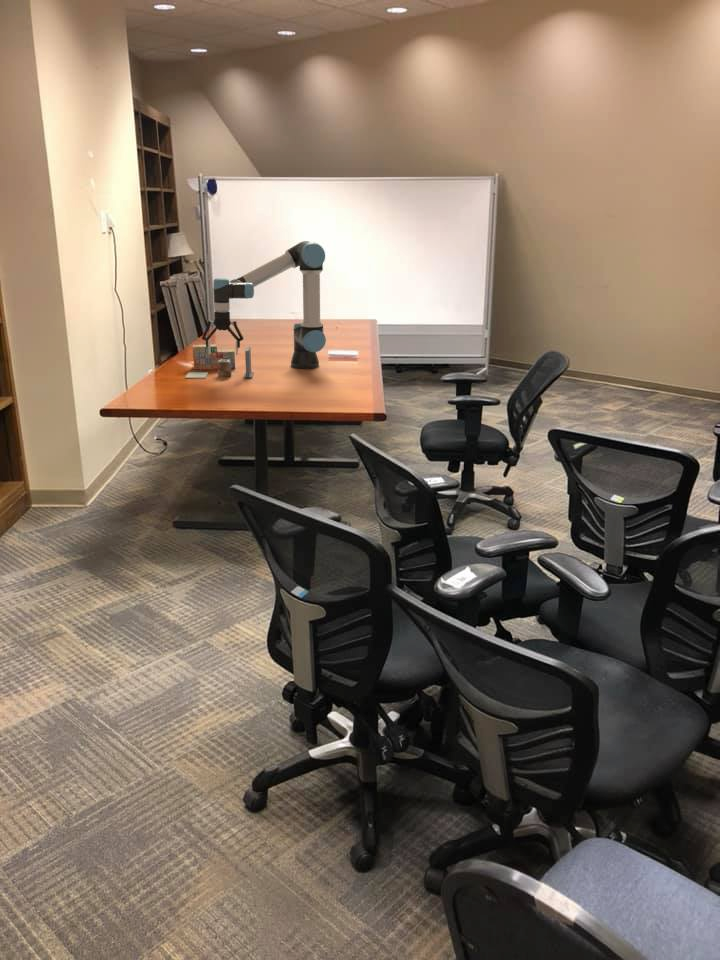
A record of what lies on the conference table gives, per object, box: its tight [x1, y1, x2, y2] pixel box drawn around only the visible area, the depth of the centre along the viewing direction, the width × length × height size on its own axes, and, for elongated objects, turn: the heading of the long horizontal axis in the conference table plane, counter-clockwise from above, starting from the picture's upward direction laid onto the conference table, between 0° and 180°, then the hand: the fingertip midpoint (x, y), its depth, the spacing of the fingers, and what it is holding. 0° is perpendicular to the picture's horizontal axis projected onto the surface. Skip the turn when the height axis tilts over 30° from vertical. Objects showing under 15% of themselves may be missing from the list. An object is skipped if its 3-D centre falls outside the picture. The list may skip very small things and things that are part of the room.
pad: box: [184, 371, 209, 380], centre depth 384 cm, size 10×12×1 cm
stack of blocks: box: [192, 343, 236, 371], centre depth 400 cm, size 21×6×12 cm, turn 102°
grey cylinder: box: [217, 360, 232, 378], centre depth 384 cm, size 6×6×8 cm
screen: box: [243, 345, 255, 380], centre depth 383 cm, size 4×12×14 cm, turn 3°
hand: (223, 354), depth 381 cm, fingers open, 13 cm apart
